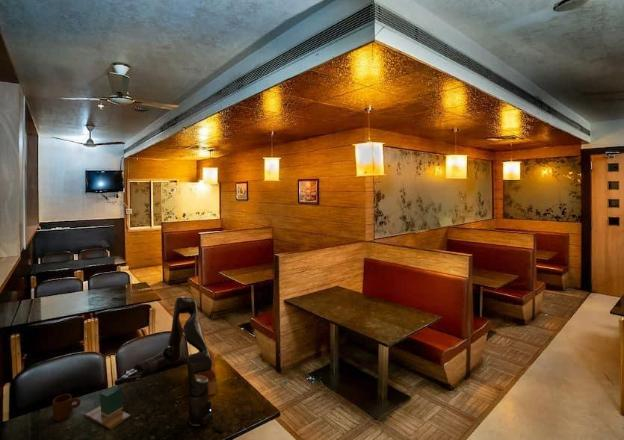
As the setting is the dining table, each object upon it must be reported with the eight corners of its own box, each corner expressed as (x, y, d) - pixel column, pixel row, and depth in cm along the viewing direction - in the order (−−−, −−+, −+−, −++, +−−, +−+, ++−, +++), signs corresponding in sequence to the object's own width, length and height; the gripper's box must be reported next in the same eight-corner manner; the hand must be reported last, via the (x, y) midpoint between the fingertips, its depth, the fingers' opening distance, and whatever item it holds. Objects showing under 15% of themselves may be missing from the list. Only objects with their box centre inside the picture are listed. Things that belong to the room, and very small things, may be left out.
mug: (85, 410, 174) (84, 392, 173) (77, 420, 166) (75, 402, 165) (59, 412, 172) (58, 394, 171) (49, 422, 165) (48, 403, 164)
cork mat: (130, 416, 169) (130, 414, 169) (110, 429, 160) (110, 427, 160) (105, 404, 178) (105, 402, 178) (85, 415, 170) (85, 414, 169)
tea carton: (122, 388, 172) (107, 396, 165) (123, 409, 173) (108, 418, 167) (114, 385, 175) (99, 393, 168) (115, 405, 176) (100, 414, 169)
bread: (193, 374, 208) (192, 350, 206) (214, 370, 212) (214, 347, 210) (192, 398, 184) (191, 371, 183) (217, 394, 188) (216, 368, 187)
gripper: (138, 357, 190) (106, 372, 175) (154, 363, 184) (123, 379, 169) (138, 371, 191) (107, 387, 175) (155, 377, 185) (124, 394, 169)
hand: (115, 383), depth 172 cm, fingers closed
